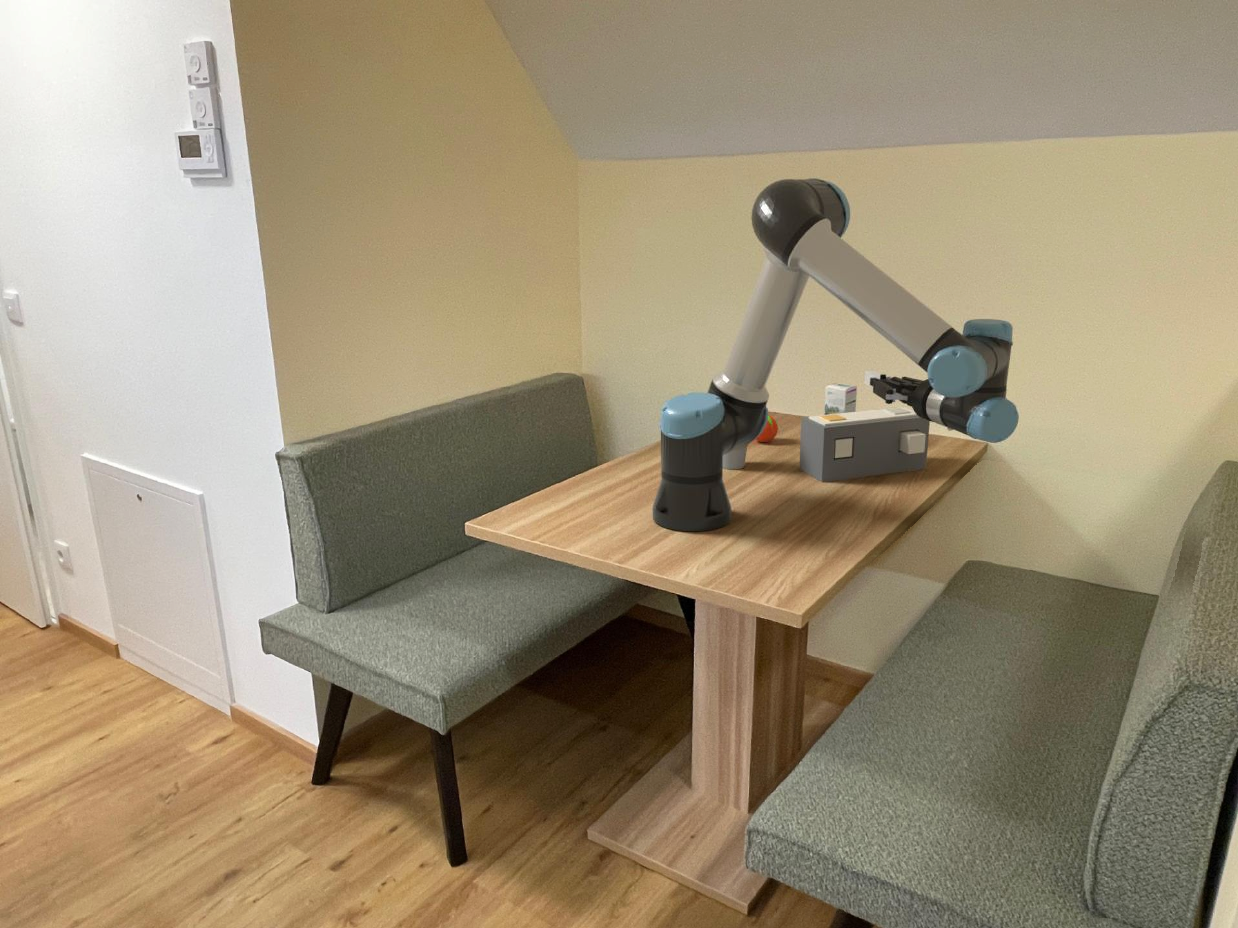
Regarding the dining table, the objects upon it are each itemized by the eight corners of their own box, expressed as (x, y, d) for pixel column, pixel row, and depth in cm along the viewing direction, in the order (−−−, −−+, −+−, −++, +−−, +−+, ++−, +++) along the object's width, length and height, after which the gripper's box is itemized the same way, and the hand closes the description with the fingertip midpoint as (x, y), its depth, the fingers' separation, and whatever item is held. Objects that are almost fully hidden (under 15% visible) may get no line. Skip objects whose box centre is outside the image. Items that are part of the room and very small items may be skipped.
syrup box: (854, 442, 218) (858, 384, 214) (842, 447, 214) (845, 389, 210) (834, 438, 222) (837, 382, 218) (822, 443, 218) (824, 386, 214)
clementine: (784, 444, 218) (785, 416, 216) (759, 448, 215) (760, 419, 213) (769, 437, 225) (769, 409, 223) (744, 440, 223) (745, 412, 221)
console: (925, 468, 196) (930, 413, 193) (821, 482, 189) (824, 424, 186) (899, 456, 206) (903, 403, 202) (799, 469, 198) (801, 414, 195)
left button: (851, 456, 190) (852, 438, 189) (835, 458, 189) (836, 440, 188) (838, 449, 195) (839, 432, 194) (822, 451, 194) (823, 433, 193)
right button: (924, 452, 191) (925, 434, 190) (908, 454, 190) (909, 436, 189) (909, 445, 196) (910, 428, 195) (893, 447, 195) (894, 430, 194)
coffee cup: (751, 460, 206) (752, 397, 202) (753, 472, 197) (754, 406, 193) (710, 459, 207) (711, 397, 203) (710, 471, 198) (711, 406, 194)
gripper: (908, 426, 155) (838, 398, 176) (971, 419, 158) (894, 393, 180) (911, 384, 152) (840, 361, 174) (975, 378, 156) (897, 356, 178)
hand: (868, 377), depth 177 cm, fingers closed
